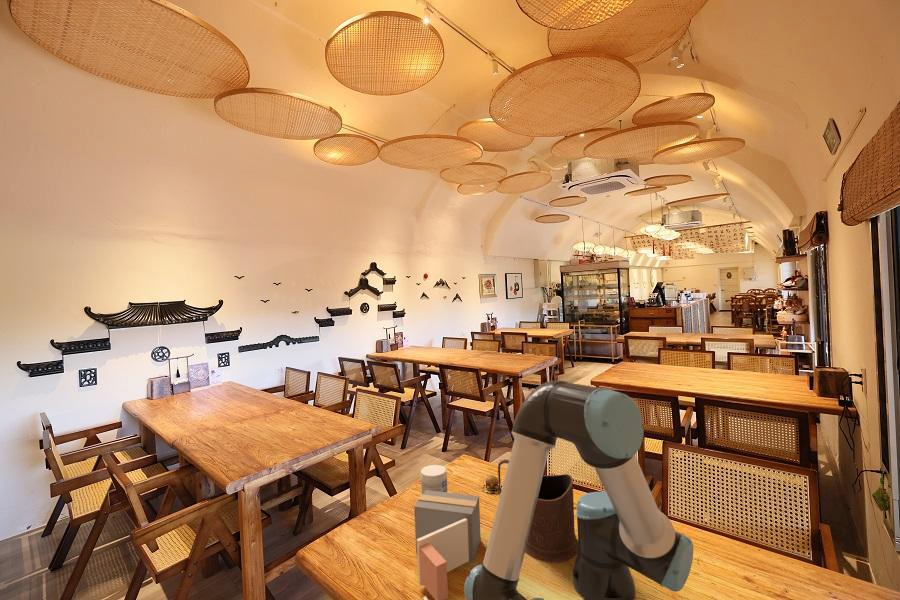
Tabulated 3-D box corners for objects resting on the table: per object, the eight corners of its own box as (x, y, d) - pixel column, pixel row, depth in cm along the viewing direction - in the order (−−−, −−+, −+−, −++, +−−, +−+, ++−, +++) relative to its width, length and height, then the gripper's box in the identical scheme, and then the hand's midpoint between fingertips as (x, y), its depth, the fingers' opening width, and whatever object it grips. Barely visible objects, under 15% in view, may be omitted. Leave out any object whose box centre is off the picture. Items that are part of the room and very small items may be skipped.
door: (467, 559, 109) (465, 517, 108) (488, 580, 100) (487, 535, 100) (418, 583, 100) (416, 539, 100) (438, 609, 91) (436, 560, 91)
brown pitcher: (584, 566, 105) (581, 478, 105) (498, 558, 110) (495, 473, 110) (575, 526, 123) (573, 451, 123) (502, 520, 128) (499, 448, 128)
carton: (481, 540, 118) (479, 495, 118) (474, 562, 109) (472, 513, 109) (426, 532, 123) (425, 488, 123) (415, 552, 114) (413, 505, 114)
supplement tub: (449, 516, 132) (448, 474, 132) (423, 519, 131) (421, 477, 130) (446, 501, 141) (444, 463, 141) (421, 504, 140) (419, 465, 140)
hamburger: (504, 499, 142) (503, 485, 142) (474, 495, 146) (473, 481, 146) (510, 484, 154) (509, 471, 153) (481, 480, 158) (481, 468, 158)
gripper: (455, 720, 65) (402, 631, 83) (553, 643, 79) (490, 581, 97) (453, 677, 65) (401, 597, 83) (552, 608, 79) (489, 552, 97)
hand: (449, 589), depth 90 cm, fingers open, 13 cm apart
